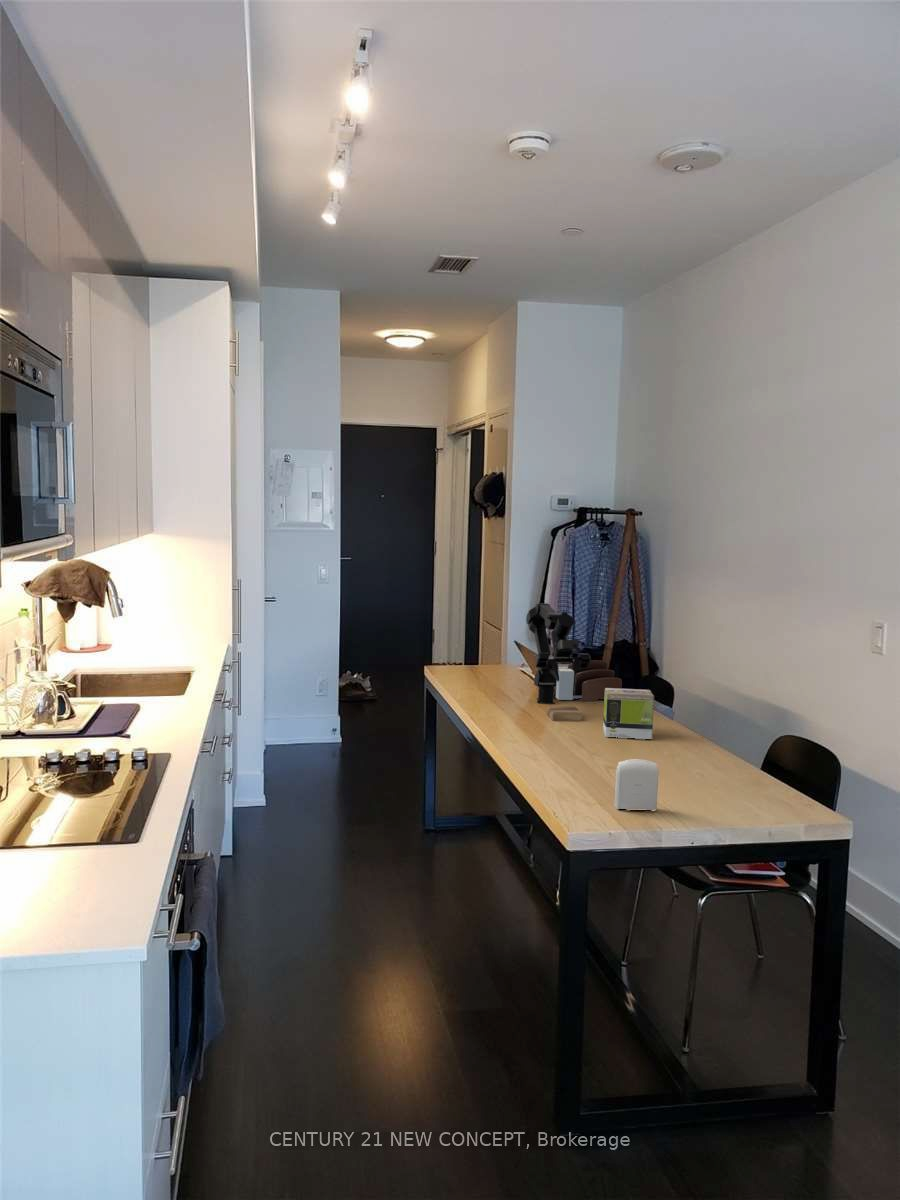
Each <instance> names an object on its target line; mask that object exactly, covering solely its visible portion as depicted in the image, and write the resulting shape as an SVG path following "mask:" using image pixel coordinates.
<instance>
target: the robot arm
mask: <svg viewBox="0 0 900 1200" xmlns="http://www.w3.org/2000/svg"><path fill="white" fill-rule="evenodd" d="M525 617H526V619H525V621H526V625H527V626H528V630H529V631H530V632H532V634H533V635H534V639H535V645H536V650H537V655H536V658H535V660H534V661H535V662H534V663H535V667H536V668H537V670H536V672H535V676H534V678H533V684H534V686H536V687H538V695H537V697H536V703H537V704H549V705H551V704H552V705H553V704H554V705H555V704H556V703H555V699H554V698H555V697H554V695H555V688H556V683H557V681H559V674H558V670H557V669H558V668H559V664H572V667H571V669H572V670H573V671H574V680H575V675H576V670H579V669H580V668H588V666H589V663H590V661H591V660H592V657H591V655H590V654H589V653H578V655H577V657H572V655H573V650H577V649H578V648H579V645H580V644H579V639H578V638H572V639H568V636H569V635H570V634H571V631H572V629H573V627H574V624H575V619H574V618H573V616H571V615H569V614H568V612H567V611H561V613H560V612H556V611H555V610H554V609H553V608H552V606H551V604H549V603H547V602H546V603H543V602H541V603H540V602H538V603H536V604H535V606H534V607H532V608H531V609H529V610H528V612H527V614H526V616H525ZM547 630H548V631H550V630H551V632H550V641H551V644H552V654H553V655H552V654H551V648H550V643H549V638H548V633H547Z"/></svg>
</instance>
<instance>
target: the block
mask: <svg viewBox="0 0 900 1200" xmlns="http://www.w3.org/2000/svg"><path fill="white" fill-rule="evenodd" d="M545 713H546V714H545V715H546V716H547V717H548V718H549V719H550V720H551V721H552V722H576V723H578V722H579V723H581V722H582V716H583V715H582V713H583V712H582V711H581V710H579V709H578V708H577V707H576V706H575V705H546V709H545Z"/></svg>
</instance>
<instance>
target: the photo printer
mask: <svg viewBox="0 0 900 1200" xmlns="http://www.w3.org/2000/svg"><path fill="white" fill-rule="evenodd" d="M615 771H616V773H615V785H614V786H615V790H614V808H615V807H616V808H618V809H646V810H654V809H656V808H657V807H658V795H659V794H658V791H659V790H658V789H659V788H658V787H659V773H660V771H659V769H658V764H657V763H655V762H654V761H651V760H647V759H640V758H639V759H635V758H634V759H631V758H630V759H626V760H622V761H619V762H617V766H616V770H615Z"/></svg>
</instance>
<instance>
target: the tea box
mask: <svg viewBox="0 0 900 1200" xmlns="http://www.w3.org/2000/svg"><path fill="white" fill-rule="evenodd" d="M654 703H655V695H654V694H653V692H652V691H651V689H641V688H640V689H639V688H638V689H637V688H636V689H635V688H621V689H620V688H605V695H604V700H603V718H602V719H603V721H602V725H603V727H602V730H603V733H604V737H605V738H608V737H616V738H615V739H627V738H635V739H634V740H645V739H652V740H653V728H654V710H655V709H654V707H655V705H654ZM617 737H618V738H617Z"/></svg>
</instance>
